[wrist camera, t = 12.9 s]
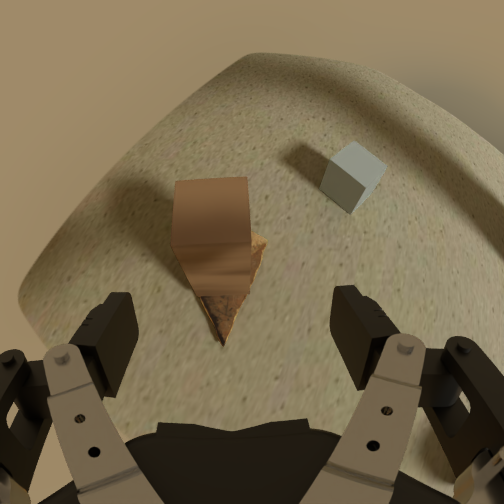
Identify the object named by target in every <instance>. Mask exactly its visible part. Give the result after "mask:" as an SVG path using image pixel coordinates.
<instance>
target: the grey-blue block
mask: <svg viewBox="0 0 504 504" xmlns="http://www.w3.org/2000/svg"><path fill="white" fill-rule="evenodd" d="M387 167H388V166H387V165H386V164H384V163H383V162H382V161H381V160H379V159H378V158H377V157H376V156H374V155H373V154H372V153H370V152H369V151H368V150H367V149H365V148H364V147H363V146H361V145H360V144H359V143H357V142H356V141H352V142H351V143H350V144H349V145H347V146H346V147H345V148H343V149H342V150H341V151H339V152H338V153H337V154H336V155H334V156H333V157H332V158H330V160H329V163H328V165H327V168H326V171H325V174H324V177H323V179H322V182H321V185H320V187H319V189H320V190H321V191H323V192H324V193H325V194H326V195H327V196H329V197H330V198H331V199H332V200H333V201H335V202H336V203H337V204H338V205H339V206H341V207H342V208H343V209H344V210H345V211H346V212H348V213H349V214H350V215H351V214H352V213H353V212H354V211H355V210H356V209H357V208H358V207H359V206H360V205H361V204H362V203H363V202H364V201H365V200H366V199H367V198H368V197H369V196H370V195H371V193H372V192H373V190H374V189H375V187H376V185H377V184H378V182H379V180H380V179H381V177H382V175H383V173H384V172H385V170H386V168H387Z"/></svg>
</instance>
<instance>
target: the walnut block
mask: <svg viewBox="0 0 504 504" xmlns="http://www.w3.org/2000/svg"><path fill="white" fill-rule="evenodd" d="M170 246H171V248H172V250H173V252H174V254H175V256H176V258H177V260H178V261H179V263H180V265H181V267H182V269H183V271H184V273H185V275H186V277H187V279H188V281H189V282H190V284H191V286H192V288H193V290H194V292H195V294H196V295H197V296H220V295H241V294H250V272H251V247H252V239H251V224H250V209H249V195H248V180H247V177H229V178H211V179H196V180H183V181H176V182H175V192H174V203H173V215H172V229H171V244H170Z"/></svg>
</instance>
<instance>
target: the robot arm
mask: <svg viewBox="0 0 504 504" xmlns="http://www.w3.org/2000/svg"><path fill="white" fill-rule="evenodd" d="M330 332H331V335H332V337H333V339H334V341H335V343H336V346H337V348H338V350H339V352H340V354H341V356H342V358H343V360H344V363H345V365H346V367H347V369H348V371H349V373H350V376H351V378H352V380H353V382H354V384H355V387H356V389H357V391H359V390H364V393H363V395H362V397H361V399H360V401H359V403H358V405H357V407H356V410H355V412H354V414H353V416H352V418H351V420H350V422H349V424H348V426H347V427H346V429H345V431H344V433H343V435H342V436H340V435H337V434H335V433H332V432H328V431H324V430H319V429H311V428H310V427H309V423H308V419H307V418H306V419H297V420H288V421H277V422H269V423H265V424H262V425H258V426H254V427H250V428H246V429H242V430H238V431H225V430H220V429H215V428H210V427H205V426H200V425H196V424H180V423H162V422H158V426H157V431H156V433H150V434H146V435H142V436H139V437H136V438H134V439H132V440H129V441H128V442H126V443H124V442H123V441H122V439H121V437H120V435H119V433H118V432H117V430H116V428H115V426H114V424H113V422H112V420H111V418H110V417H109V415H108V413H107V411H106V409H105V407H104V405H103V403H102V400H103V398H104V396H105V397H113V398H116V395H117V392H118V390H119V387H120V384H121V382H122V379H123V376H124V374H125V371H126V368H127V366H128V363H129V361H130V358H131V356H132V353H133V351H134V348H135V346H136V343H137V341H138V335H139V330H138V323H137V319H136V315H135V310H134V306H133V301H132V297H131V294H130V293H129V292H111V293H110V294H109V296H108V297H107V299H106V300H105V302H104V303H103V304H99V305H98V306H97V307H95V308H94V309H92V310H91V311H90V313H89V314H88V315H87V317H86V319H85V320H84V321H83V322H82V324H81V326H80V327H79V328H78V330H77V331H76V333H75V334H74V336H73V337H72V338H71V340H70V341H69V343H68V344H61V345H57V346H55V347H53V348H51V349H50V350H49V351H48V352H47V353H46V354H45V356H44V358H43V360H39V361H29V362H27V359H26V358H25V356H24V353H23V352H22V351H20V350H17V349H13V350H8V351H6V352H4V353H2V354H0V504H31V500H30V497H29V494H28V491H29V487H30V484H31V481H32V478H33V474H34V471H35V468H36V465H37V462H38V460H39V457H40V454H41V451H42V448H43V445H44V443H45V440H46V437H47V435H48V432H49V430H50V427H51V424H52V422H53V423H54V426H55V430H56V433H57V437H58V440H59V443H60V446H61V448H62V451H63V454H64V457H65V460H66V462H67V465H68V468H69V470H70V473H71V475H72V477H73V481H71V482H70V483H68V484H67V485H65V486H64V487H62V488H61V489H59V490H58V491H56V492H55V493H53V494H52V495H50V496H49V497H47V498H46V499H44V500H43V501H41V502H39V503H38V504H504V376H503V375H502V373H501V372H500V371H499V370H498V369H497V367H496V366H495V365H494V364H493V362H492V361H491V360H490V359H489V358H488V357H487V355H486V354H485V353H484V352H483V351H482V349H481V348H480V347H479V346H478V345H477V344H476V343H475V342H474V341H472V340H471V339H469V338H466V337H462V336H454V337H451V338H449V339H448V340H447V342H446V345H445V347H444V349H431V348H426V347H425V345H424V343H423V342H422V341H421V340H420V339H419V338H417V337H415V336H413V335H410V334H403V333H400V331H399V330H398V329H397V327H396V326H395V325H394V324H393V322H392V321H391V320H390V319H389V317H388V316H387V315H386V313H385V312H384V311H382V308H381V307H380V306H379V305H378V303H377V302H376V301H374V300H372V299H371V298H369V297H367V296H362V294H361V293H360V292H359V290H358V289H357V288H356V287H355V286H354V285H346V286H336V287H335V288H334V292H333V299H332V307H331V315H330ZM462 391H463V392H464V394H465V395H466V397H467V398H468V400H469V402H470V407H471V409H470V414H469V412H468V411H467V409H466V407H465V406H464V404H463V403H462V401H461V399H460V398H459V395H460V394H461V392H462ZM13 402H14V403H15V404H16V406H17V407H18V409H19V410H18V413H17V414H16V416H15V419H14V421H13V423H12V425H11V427H10V429H9V428H8V425H7V421H6V417H7V414H8V412H9V410H10V407H11V406H12V404H13ZM418 407H422V408H423V410H424V411H425V413H426V415H427V417H428V419H429V421H430V423H431V425H432V427H433V429H434V431H435V433H436V435H437V437H438V439H439V442H440V444H441V446H442V448H443V450H444V452H445V454H446V456H447V458H448V461H449V463H450V465H451V467H452V469H453V472H454V474H455V476H456V478H457V479H456V481H455V484H454V496H453V498H452V497H450V496H447V495H445V494H443V493H441V492H439V491H437V490H435V489H433V488H431V487H429V486H427V485H425V484H423V483H421V482H420V481H418V480H416V479H414V478H412V477H410V476H408V475H407V474H405V473H403V472H401V471H399V468H400V465H401V462H402V459H403V456H404V453H405V450H406V447H407V444H408V441H409V437H410V434H411V430H412V427H413V423H414V419H415V416H416V412H417V408H418Z"/></svg>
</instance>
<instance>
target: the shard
mask: <svg viewBox="0 0 504 504" xmlns="http://www.w3.org/2000/svg"><path fill="white" fill-rule="evenodd" d="M251 239H252V247H251V272H250V287H251V285H252V283H253V281H254V279H255V277H256V273H257V271H258V269H259V267H260V265H261V262H262V259H263V252H264V249H265V247H266V246H267V243H268V240H267V239H265V238H264V237H262V236H259V235H258V234H256V233H254V232H253V231H251ZM246 296H247V294H241V295H220V296H199V297H200V300H201V302H202V304H203V307H204V309H205V311H206V313H207V314H208V316H209V318H210V320H211V321H212V323H213V325H214V327H215V330H216V334H217V337H218V339H219V341H220V343H221V345H222V346H223V347H224V345H225V343H226V341H227V340H228V336H229V334H230V332H231V330H232V327H233V324H234V321H235V318H236V316H237V314H238V311H239V309H240V307H241V305H242V303H243V302H244V300H245V298H246Z"/></svg>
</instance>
